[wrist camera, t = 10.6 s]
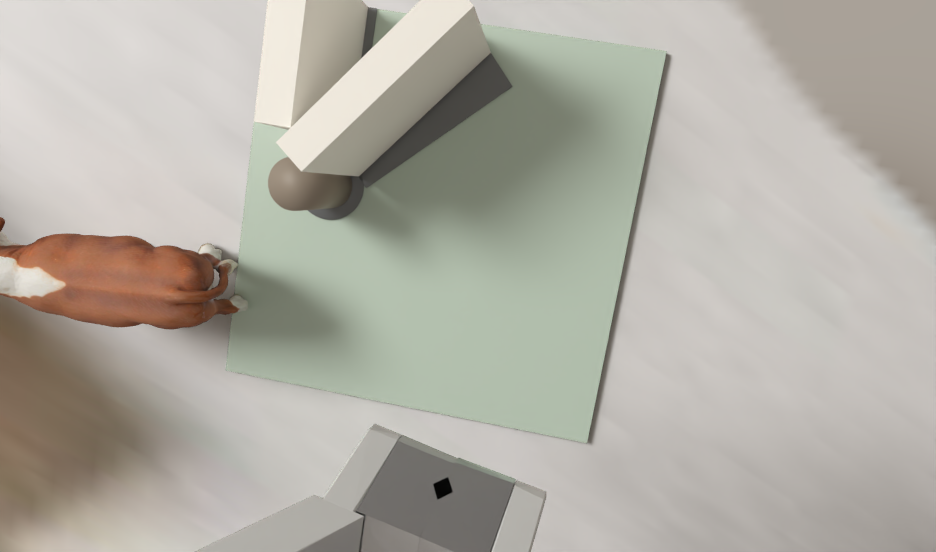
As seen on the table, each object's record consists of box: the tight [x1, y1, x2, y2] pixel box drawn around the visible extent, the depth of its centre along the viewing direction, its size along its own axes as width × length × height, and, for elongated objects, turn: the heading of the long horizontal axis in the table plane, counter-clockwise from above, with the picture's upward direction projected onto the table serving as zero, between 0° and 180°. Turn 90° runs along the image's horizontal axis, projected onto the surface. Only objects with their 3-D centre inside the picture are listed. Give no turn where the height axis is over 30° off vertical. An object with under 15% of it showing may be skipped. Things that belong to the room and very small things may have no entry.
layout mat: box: [226, 7, 667, 443], centre depth 33 cm, size 20×20×1 cm
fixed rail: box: [254, 0, 368, 211], centre depth 29 cm, size 10×2×8 cm, turn 170°
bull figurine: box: [0, 217, 248, 329], centre depth 31 cm, size 4×13×8 cm, turn 79°
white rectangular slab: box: [276, 0, 491, 176], centre depth 28 cm, size 9×2×8 cm, turn 131°
